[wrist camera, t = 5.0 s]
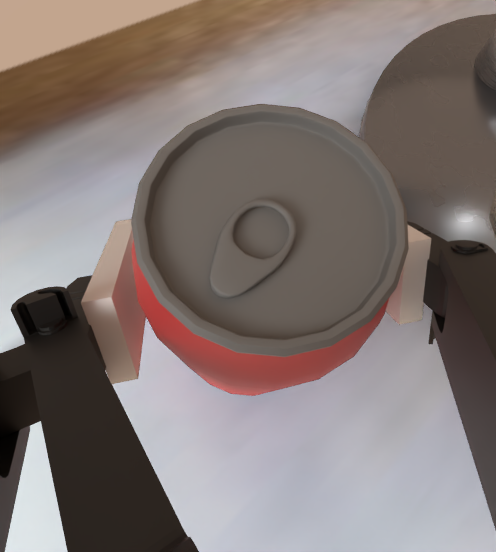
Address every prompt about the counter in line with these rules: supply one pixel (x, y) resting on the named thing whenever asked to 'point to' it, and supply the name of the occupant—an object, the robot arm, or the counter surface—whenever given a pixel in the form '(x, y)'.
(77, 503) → the robot arm
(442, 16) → the counter surface
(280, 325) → the beer can
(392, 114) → the carrier plate
